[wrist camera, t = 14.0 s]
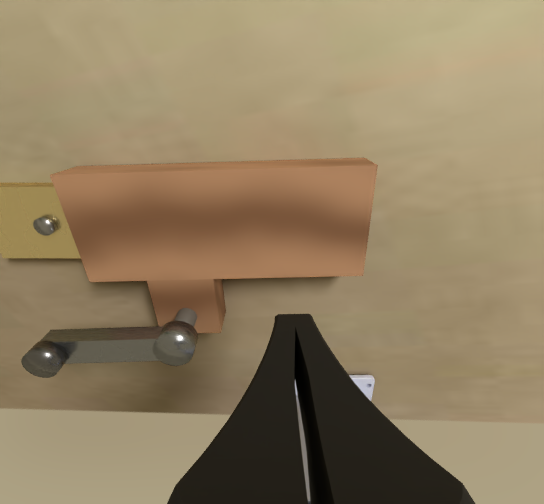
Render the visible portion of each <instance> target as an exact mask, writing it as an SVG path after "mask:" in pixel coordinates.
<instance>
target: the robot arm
mask: <svg viewBox="0 0 544 504" xmlns="http://www.w3.org/2000/svg"><path fill="white" fill-rule="evenodd" d="M374 383H375V380H374V377H373V376H372V375H348V374H347V372H346V371H345V370H344V368H343V367H342V366H341V364H340V363H339V362H338V360H337V359H336V357H335V356H334V354H333V353H332V351H331V350H330V348H329V347H328V345H327V344H326V342H325V340H324V339H323V337H322V335H321V333H320V332H319V330H318V328H317V326H316V324H315V322H314V320H313V318H312V316H311V315H310V314H278V315H277V316H276V317H275V323H274V328H273V331H272V335H271V338H270V341H269V343H268V346H267V349H266V351H265V354H264V356H263V359H262V361H261V363H260V365H259V367H258V369H257V371H256V374H255V376H254V377H253V379H252V381H251V383H250V385H249V387H248V389H247V390H246V392H245V394H244V396H243V397H242V399H241V401H240V402H239V404H238V405H237V407H236V408H235V410H234V412H233V413H232V415H231V416H230V418H229V419H228V421H227V422H226V423H225V425H224V426H223V428H222V429H221V430H220V432H219V433H218V434H217V436H216V437H215V439H214V440H213V441H212V442H211V444H210V445H209V447H208V448H207V449H206V450H205V451H204V453H203V454H202V455H201V457H200V458H199V459H198V460H197V461H196V462H195V463H194V465H193V466H192V467H191V468H190V469H189V470H188V472H187V473H186V474H185V475H184V476H183V478H182V479H181V480H180V481H179V482H178V483H177V484H176V486H175V488H174V490H173V492H172V494H171V496H170V499H169V501H168V503H167V504H475V502H474V501H473V499H472V498H471V496H470V495H469V493H468V491H467V490H466V488H465V487H464V485H463V483H461V482H460V481H459V480H458V479H456V478H455V477H454V476H452V475H451V474H450V473H449V472H448V471H446V470H445V469H444V468H442V467H441V466H440V465H439V464H437V463H436V462H435V461H434V460H433V459H431V458H430V457H429V456H428V455H427V454H425V453H424V452H423V451H422V450H421V449H420V448H419V447H417V446H416V445H415V444H414V443H413V442H412V441H411V440H410V439H408V438H407V437H406V436H405V435H404V434H403V433H402V432H401V431H400V430H399V429H398V428H397V427H396V426H395V425H394V424H393V423H392V422H391V421H390V420H389V419H388V418H387V417H385V416H384V415H383V414H382V413H381V412H380V411H379V410H378V408H377V407H376V406H375V405H374V404H373V403H372V402H371V398H372V393H373V388H374Z"/></svg>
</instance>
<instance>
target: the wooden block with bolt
mask: <svg viewBox="0 0 544 504" xmlns="http://www.w3.org/2000/svg"><path fill="white" fill-rule="evenodd" d="M0 253H1V255H2V257H3V258H81V257H80V255H79V252H78V249H77V247H76V244H75V241H74V239H73V236H72V233H71V231H70V228H69V225H68V222H67V220H66V217H65V214H64V212H63V209H62V206H61V204H60V201H59V198H58V196H57V193H56V190H55V188H54V185H53V183H0Z"/></svg>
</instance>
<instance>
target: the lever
mask: <svg viewBox="0 0 544 504" xmlns="http://www.w3.org/2000/svg"><path fill="white" fill-rule="evenodd" d="M197 340H198V333H197V331H196V329H195V328H194V327H193V326H192V325H190V324H189V323H186V322H184V321H170V322H168V323H166V324H165V325H164V326H156V327H125V328H94V329H62V330H50V331H49V332H48V333H47V334H46V335H45V336H44V338H43V339H42V340H41V341H40V342H38V343H36V344H35V345H34V346H33V347H32V348H31V349H30V350H29V351H28V352H27V353H26V354H25V355H24V356H23V358H22V361H21V362H22V365H23V367H24V368H25V369H26V370H27V371H28V372H29V373H31V374H33V375H35V376H38V377H43V378H48V377H52V376H54V375H56V374H57V372H58V371H59V370H60V369H61V367H62V366H63V365H64V364H68V363H102V362H136V361H161V362H163V363H165V364H168V365H173V366H179V365H183V364H186V363H188V362H189V361H190V360H191V358H192V356H193V353H194V350H195V347H196V344H197Z"/></svg>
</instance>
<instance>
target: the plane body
mask: <svg viewBox="0 0 544 504" xmlns="http://www.w3.org/2000/svg"><path fill="white" fill-rule="evenodd" d="M377 166H378V165H376V164H374V163H373V162H371V161H369V160H367V159H366V158H343V159H309V160H276V161H242V162H209V163H175V164H142V165H108V166H77V167H74V168H71V169H67V170H64V171H61V172H58V173H55V174H51V175H50V177H51V180H52V182H53V185H54V188H55V190H56V193H57V196H58V198H59V201H60V204H61V206H62V209H63V212H64V214H65V217H66V220H67V222H68V225H69V228H70V231H71V233H72V236H73V239H74V241H75V244H76V247H77V249H78V252H79V255H80V257H81V260H82V263H83V265H84V268H85V271H86V273H87V276H88V279H89V281H90V282H113V281H147V284H148V287H149V291H150V295H151V299H152V302H153V306H154V310H155V314H156V317H157V321H158V325H159V326H164V325H165V324H166V323H168V322H170V321H184V322H186V323H189V324H190V325H192V326H193V327H194V328H195V329H196V331H197V333H221V330H222V325H223V321H224V317H225V312H226V308H225V300H224V293H223V285H222V279H241V278H284V277H327V276H363V272H364V264H365V257H366V249H367V242H368V234H369V227H370V219H371V212H372V204H373V196H374V189H375V181H376V174H377Z"/></svg>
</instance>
